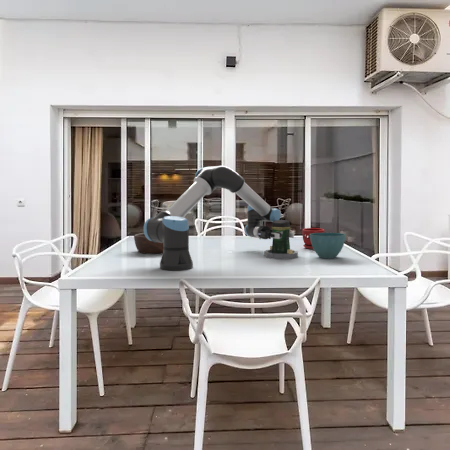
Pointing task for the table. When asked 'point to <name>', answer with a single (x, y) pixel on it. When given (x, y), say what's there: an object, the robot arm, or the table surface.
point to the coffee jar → (281, 236)
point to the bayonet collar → (289, 254)
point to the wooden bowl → (147, 245)
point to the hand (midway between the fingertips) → (286, 235)
